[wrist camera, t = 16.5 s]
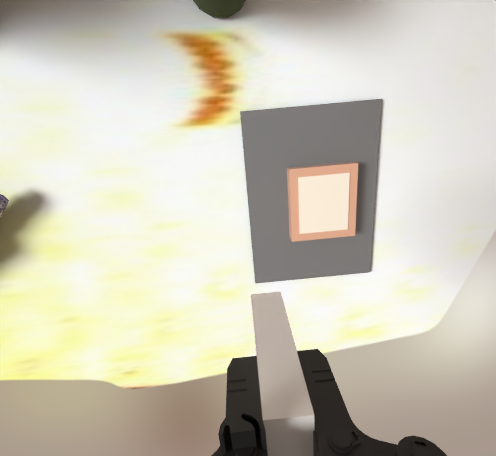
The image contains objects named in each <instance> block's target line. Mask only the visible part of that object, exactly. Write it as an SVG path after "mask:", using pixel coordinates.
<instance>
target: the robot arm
mask: <svg viewBox="0 0 496 456" xmlns="http://www.w3.org/2000/svg"><path fill="white" fill-rule="evenodd" d="M251 300H252V310H253V321H254V332H255V343H256V353H257V356H252V357H242V358H233V359H232V361H231V363H230V365H229V367H228V369H227V396H226V397H227V398H226V418H225V419H224V421H223V422H222V424H221V426H220V430H219V440H220V447H219V448H218V450H217V451H216V452H215V453H214V454H213V455H212V456H447V455H446V454H445V453H444V452H443V451H442V450H441V449H440V448H438V447H437V446H436V445H435V444H434V443H432V442H430V441H428V440H426V439H424V438H421V437H416V436H408V437H405V438H403V439H402V440H401V441H399V443H398V445H396V444H391V443H387V442H383V441H379V440H376V439H373V438H370V437H369V436H367V435H365V434H364V433H362V432H361V431H360V430H359V429H358V428H357V427H356V426H355V425H354V423H353V422H352V420H351V418H350V416H349V413H348V411H347V408H346V406H345V403H344V401H343V398H342V396H341V394H340V391H339V388H338V386H337V383H336V382H335V378H334V376H333V373H332V372H331V368H330V366H329V363H328V361H327V358H326V357H325V356H324V355H323V354H322V353H321V352H320V351H319V350H318V349H314V350H304V351H297V350H296V347H295V343H294V339H293V336H292V332H291V328H290V325H289V321H288V318H287V314H286V310H285V307H284V303H283V299H282V296H281V292H273V293H262V294H252V295H251Z"/></svg>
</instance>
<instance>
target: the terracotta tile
mask: <svg viewBox="0 0 496 456" xmlns="http://www.w3.org/2000/svg"><path fill="white" fill-rule="evenodd" d="M357 181H358V163H356V162H342V163H331V164H320V165H310V166H299V167H288V168H287V184H288V210H289V235H290V239H291V241H292V242H295V241H305V240H316V239H326V238H337V237H347V236H355V228H356V204H357Z"/></svg>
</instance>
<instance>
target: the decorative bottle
mask: <svg viewBox="0 0 496 456" xmlns="http://www.w3.org/2000/svg"><path fill="white" fill-rule="evenodd" d="M8 201H9V200H8V199H7V198H6V197H5V196H3V195H1V194H0V217H1V216H2V213H3V212H2V210H4V209H5V208H6V206H7V204H8Z"/></svg>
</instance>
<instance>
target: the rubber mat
mask: <svg viewBox="0 0 496 456" xmlns="http://www.w3.org/2000/svg"><path fill="white" fill-rule="evenodd" d="M381 103H382V99H376V100H364V101H353V102H342V103H331V104H320V105H309V106H298V107H287V108H276V109H265V110H254V111H243V112H240V113H241V125H242V136H243V148H244V159H245V170H246V182H247V193H248V204H249V216H250V227H251V239H252V250H253V261H254V273H255V283H263V282H274V281H284V280H294V279H305V278H315V277H325V276H336V275H346V274H356V273H367V272H370V271H371V255H372V240H373V225H374V210H375V194H376V179H377V164H378V148H379V133H380V118H381ZM342 162H356V163H358V181H357V204H356V228H355V236H347V237H337V238H326V239H316V240H305V241H295V242H292V241H291V239H290V235H289V210H288V184H287V168H288V167H299V166H310V165H320V164H331V163H342Z"/></svg>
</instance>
